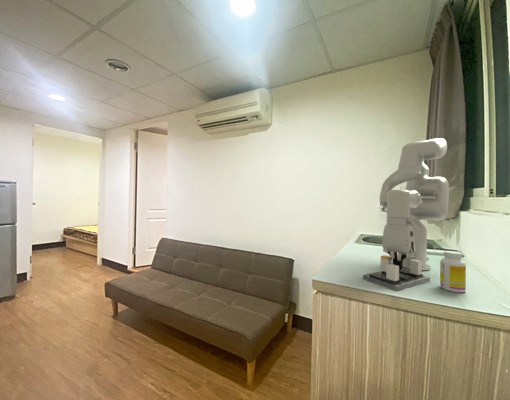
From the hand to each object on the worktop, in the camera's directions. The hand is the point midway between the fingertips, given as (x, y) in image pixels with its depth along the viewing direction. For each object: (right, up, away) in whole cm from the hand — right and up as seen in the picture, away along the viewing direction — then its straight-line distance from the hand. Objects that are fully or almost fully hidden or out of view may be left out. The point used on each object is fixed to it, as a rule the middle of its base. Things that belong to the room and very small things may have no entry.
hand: (397, 269), depth 86 cm
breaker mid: (-2, -2, +4) cm, 4 cm away
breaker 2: (+8, -2, +1) cm, 8 cm away
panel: (0, -4, 0) cm, 4 cm away
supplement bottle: (+14, -4, -8) cm, 17 cm away
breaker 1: (-6, -2, -6) cm, 8 cm away
